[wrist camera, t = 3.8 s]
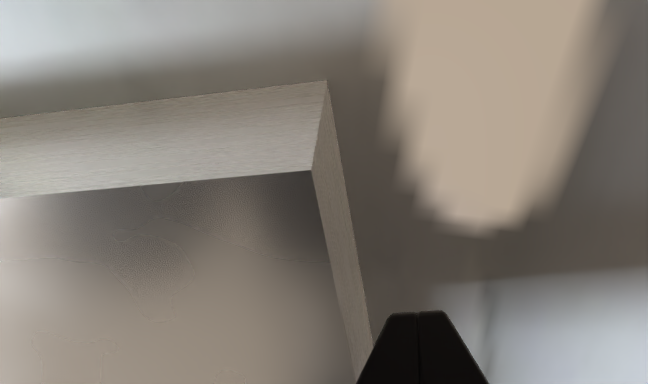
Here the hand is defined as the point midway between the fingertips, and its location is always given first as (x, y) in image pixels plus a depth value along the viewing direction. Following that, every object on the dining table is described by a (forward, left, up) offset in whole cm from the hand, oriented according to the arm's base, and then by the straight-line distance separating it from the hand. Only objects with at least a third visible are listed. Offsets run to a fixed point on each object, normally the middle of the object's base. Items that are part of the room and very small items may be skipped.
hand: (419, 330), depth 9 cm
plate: (0, +4, -2) cm, 5 cm away
